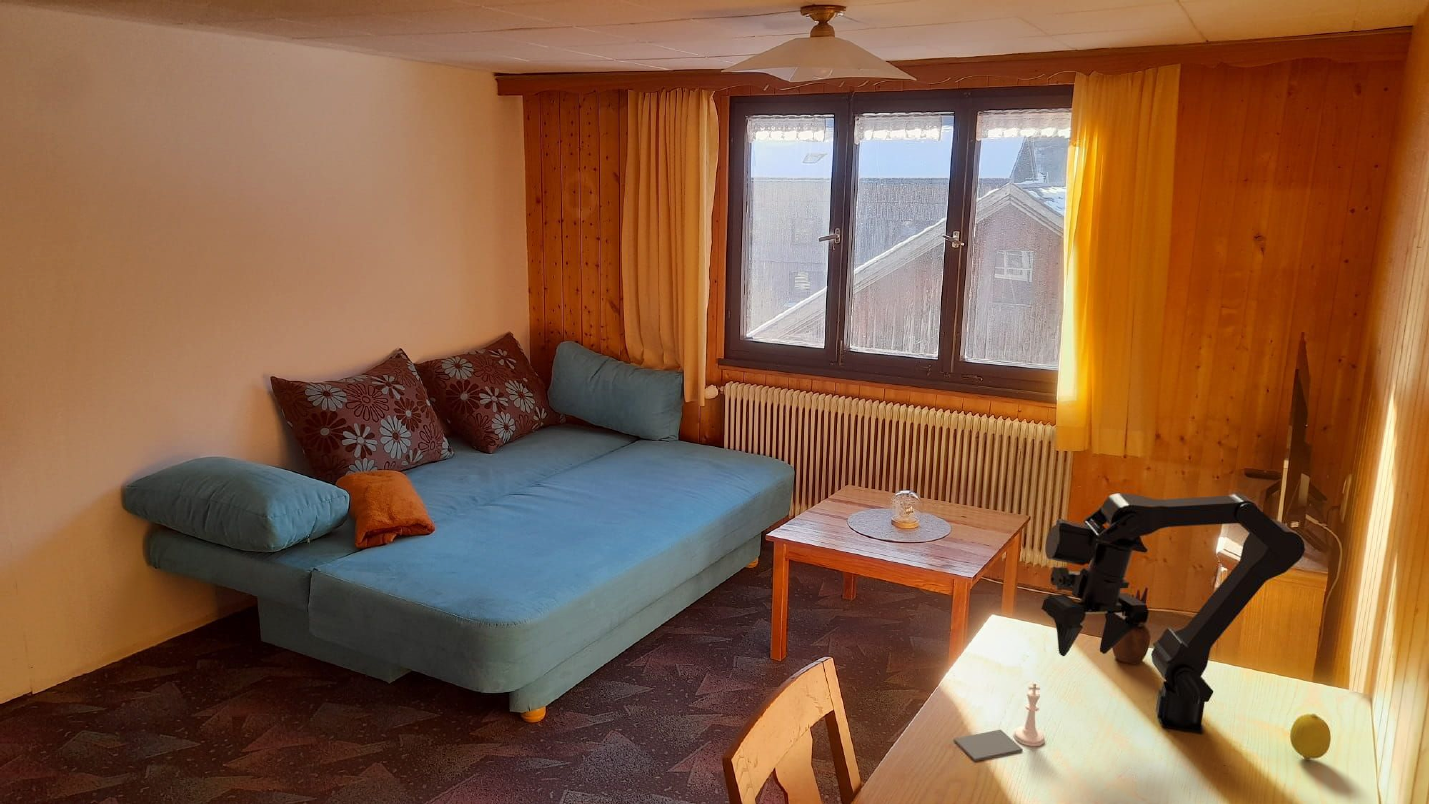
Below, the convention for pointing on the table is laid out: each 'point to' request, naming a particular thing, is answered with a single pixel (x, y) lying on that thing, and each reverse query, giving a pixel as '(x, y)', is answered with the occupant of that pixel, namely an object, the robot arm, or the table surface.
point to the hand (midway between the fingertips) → (1082, 653)
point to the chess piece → (1030, 722)
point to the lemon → (1310, 736)
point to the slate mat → (988, 745)
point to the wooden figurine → (1134, 640)
